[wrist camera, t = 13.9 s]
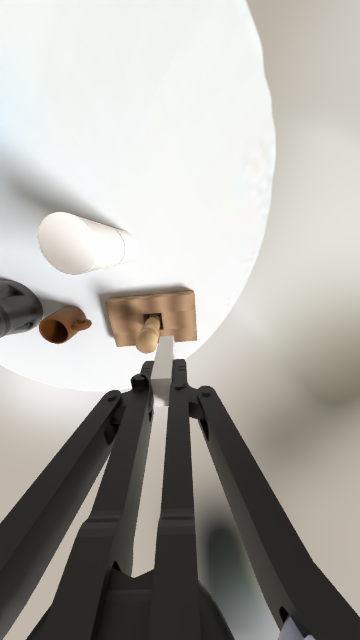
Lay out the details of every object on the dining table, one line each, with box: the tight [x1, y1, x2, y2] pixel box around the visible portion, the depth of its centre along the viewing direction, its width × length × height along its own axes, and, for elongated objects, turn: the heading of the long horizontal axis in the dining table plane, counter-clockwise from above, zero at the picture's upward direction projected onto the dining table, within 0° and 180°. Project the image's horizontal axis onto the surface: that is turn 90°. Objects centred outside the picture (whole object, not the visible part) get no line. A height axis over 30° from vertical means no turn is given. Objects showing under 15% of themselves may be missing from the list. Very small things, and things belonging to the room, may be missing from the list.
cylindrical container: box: [38, 212, 139, 275], centre depth 33 cm, size 7×7×25 cm
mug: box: [39, 306, 92, 344], centre depth 47 cm, size 12×8×9 cm, turn 96°
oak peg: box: [136, 313, 161, 353], centre depth 45 cm, size 5×5×16 cm
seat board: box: [105, 291, 197, 347], centre depth 50 cm, size 24×14×4 cm, turn 95°
